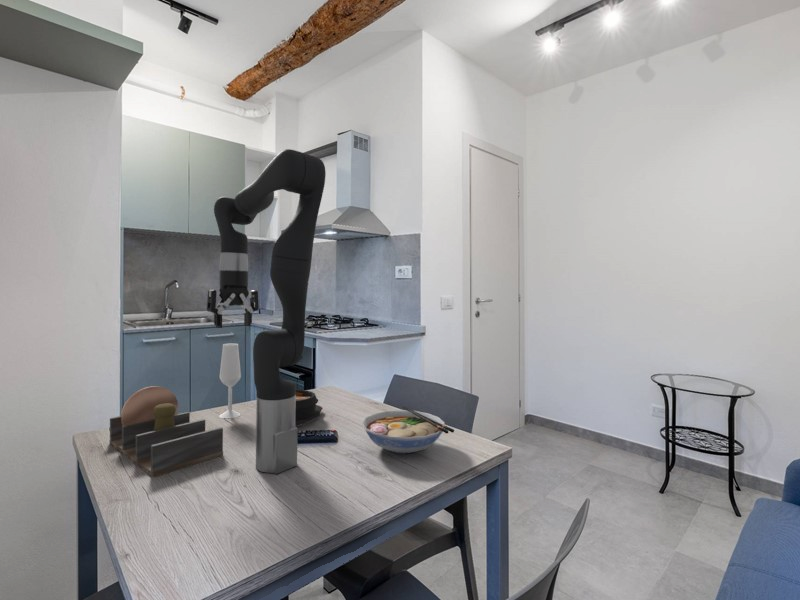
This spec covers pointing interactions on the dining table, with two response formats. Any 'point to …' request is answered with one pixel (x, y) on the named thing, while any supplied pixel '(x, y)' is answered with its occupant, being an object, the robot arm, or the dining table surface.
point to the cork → (164, 416)
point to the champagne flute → (230, 374)
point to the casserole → (306, 407)
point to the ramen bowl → (404, 430)
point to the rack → (162, 435)
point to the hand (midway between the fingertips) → (233, 326)
